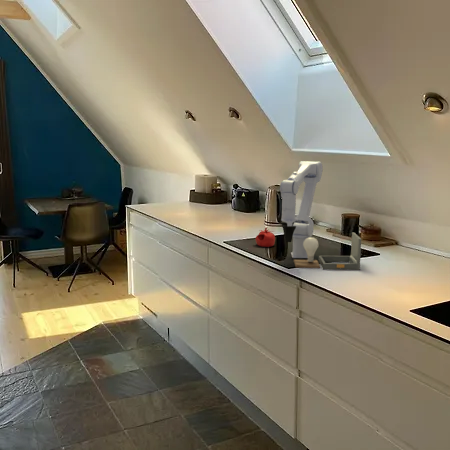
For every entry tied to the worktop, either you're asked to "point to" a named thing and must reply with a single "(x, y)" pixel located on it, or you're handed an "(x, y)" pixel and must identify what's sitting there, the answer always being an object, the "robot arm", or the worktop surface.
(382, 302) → the worktop surface
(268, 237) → the pomegranate
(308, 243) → the lightbulb
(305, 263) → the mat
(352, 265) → the case
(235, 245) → the worktop surface
